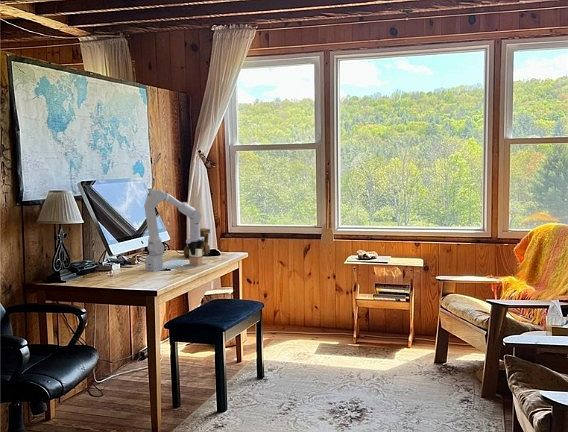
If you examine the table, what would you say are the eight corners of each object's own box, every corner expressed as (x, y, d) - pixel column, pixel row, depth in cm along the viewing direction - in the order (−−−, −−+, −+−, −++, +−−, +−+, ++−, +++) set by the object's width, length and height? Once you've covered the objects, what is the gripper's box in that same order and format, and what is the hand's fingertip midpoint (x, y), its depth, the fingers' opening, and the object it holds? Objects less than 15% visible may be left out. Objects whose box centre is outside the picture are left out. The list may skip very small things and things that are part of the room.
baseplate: (186, 271, 313) (186, 262, 313) (170, 269, 318) (170, 261, 318) (208, 264, 332) (208, 256, 331) (193, 263, 337) (193, 255, 336)
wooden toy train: (195, 253, 374) (195, 228, 372) (212, 254, 371) (211, 228, 369) (182, 258, 354) (181, 231, 353) (199, 259, 351) (198, 232, 350)
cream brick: (197, 257, 326) (197, 250, 326) (189, 256, 329) (189, 249, 329) (202, 255, 330) (202, 249, 329) (193, 255, 332) (193, 248, 332)
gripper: (193, 232, 320) (193, 256, 321) (208, 229, 332) (208, 253, 334) (182, 231, 323) (183, 255, 324) (198, 229, 336) (198, 252, 337)
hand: (195, 254), depth 329 cm, fingers open, 4 cm apart
